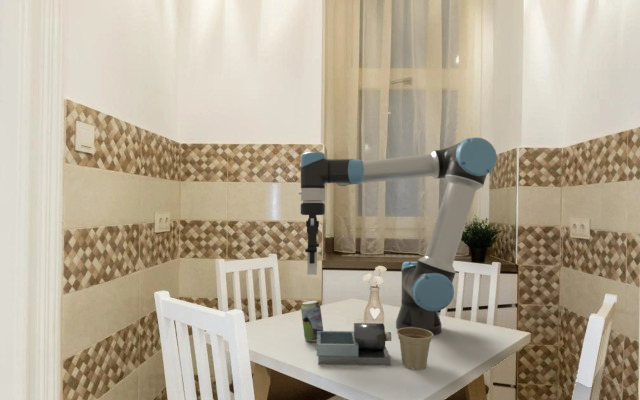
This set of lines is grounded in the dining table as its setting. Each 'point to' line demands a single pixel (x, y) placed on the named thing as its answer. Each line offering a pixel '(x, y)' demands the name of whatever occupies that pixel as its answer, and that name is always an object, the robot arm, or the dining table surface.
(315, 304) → the beverage can
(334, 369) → the dining table surface
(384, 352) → the motor housing
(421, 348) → the flower pot
